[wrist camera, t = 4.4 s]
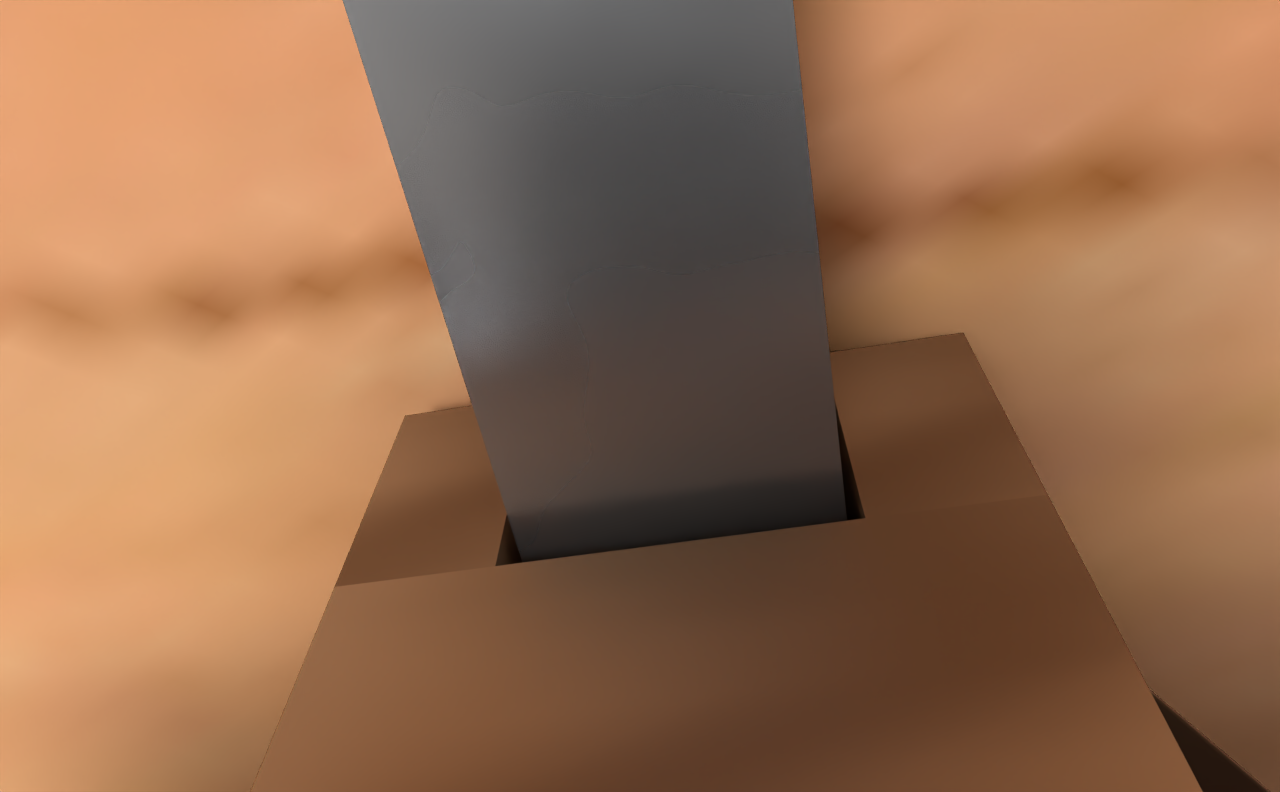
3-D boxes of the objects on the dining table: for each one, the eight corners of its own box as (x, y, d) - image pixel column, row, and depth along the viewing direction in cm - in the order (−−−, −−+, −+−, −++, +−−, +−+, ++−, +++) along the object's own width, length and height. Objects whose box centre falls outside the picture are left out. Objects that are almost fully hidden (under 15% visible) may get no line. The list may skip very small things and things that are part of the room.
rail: (709, -493, 6) (729, -620, 4) (872, 904, 14) (908, 1103, 12) (338, -400, 7) (190, -478, 5) (695, 920, 14) (699, 1117, 12)
